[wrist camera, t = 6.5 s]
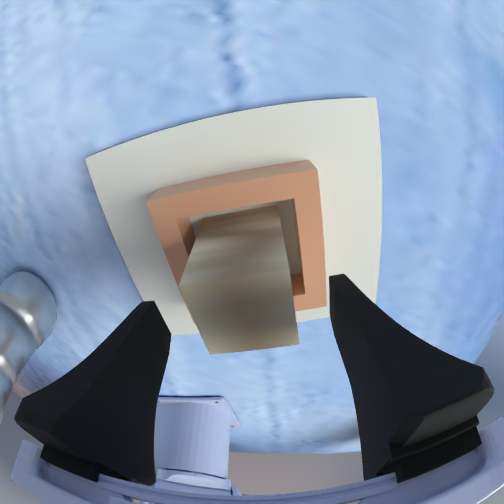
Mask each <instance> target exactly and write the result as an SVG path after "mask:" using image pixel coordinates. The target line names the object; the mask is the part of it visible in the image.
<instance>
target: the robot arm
mask: <svg viewBox="0 0 504 504" xmlns="http://www.w3.org/2000/svg"><path fill="white" fill-rule="evenodd" d="M329 303H330V318H331V323H332V327H333V332H334V336H335V339H336V342H337V345H338V348H339V351H340V354H341V357H342V360H343V363H344V366H345V369H346V372H347V375H348V378H349V381H350V385H351V388H352V393H353V398H354V403H355V409H356V415H357V421H358V427H359V435H360V443H361V451H362V462H363V476H364V481H361V482H357V483H353V484H348V485H343V486H338V487H333V488H327V489H321V490H315V491H307V492H299V493H289V494H276V495H241V492H240V491H239V490H238V489H237V487H236V486H231V480H227V478H228V459H229V440H230V428H238V427H240V423H239V421H238V420H237V418H236V416H235V415H234V413H233V411H232V410H231V408H230V406H229V404H228V403H227V401H226V399H225V398H223V397H208V398H175V397H158V396H159V392H160V388H161V384H162V380H163V376H164V372H165V368H166V364H167V360H168V356H169V350H170V341H171V332H170V330H169V328H168V326H167V325H166V323H165V321H164V319H163V317H162V315H161V313H160V311H159V309H158V307H157V305H156V303H155V301H144V302H141V303H140V304H139V305H138V306H137V307H136V308H135V309H134V310H133V311H132V312H131V313H130V314H129V315H128V316H127V317H126V318H125V319H124V321H123V322H122V323H121V324H120V325H119V326H118V327H117V328H116V329H115V330H114V331H113V332H112V333H111V334H110V335H109V336H108V337H107V338H106V339H105V340H104V341H103V342H102V343H101V344H100V345H99V346H98V347H97V348H96V349H95V350H94V351H93V352H92V353H91V354H90V355H89V356H88V357H87V358H85V359H84V360H83V361H82V362H81V363H80V364H78V365H77V366H76V367H74V368H73V369H72V370H70V371H69V372H68V373H66V374H65V375H64V376H62V377H61V378H59V379H58V380H56V381H55V382H53V383H51V384H50V385H48V386H46V387H44V388H43V389H41V390H39V391H37V392H35V393H32V394H30V395H28V396H26V397H24V398H23V399H22V401H21V403H20V406H19V408H18V410H17V412H16V415H15V417H14V419H15V421H16V423H17V424H18V425H20V427H21V428H23V429H24V430H25V431H26V432H28V433H29V434H30V435H32V436H33V437H35V438H36V439H37V440H39V441H40V442H42V443H43V444H44V446H43V449H42V448H40V447H38V446H36V445H34V444H32V443H30V442H28V441H26V440H23V442H22V444H21V447H20V450H19V453H18V456H17V459H16V462H15V465H14V469H13V472H12V475H11V480H12V481H13V482H14V483H16V484H17V485H18V486H20V487H21V488H23V489H24V490H25V491H27V492H28V493H29V494H31V495H32V496H33V497H35V498H36V499H38V500H39V501H40V502H42V503H43V504H136V503H134V502H133V500H132V499H136V500H139V504H347V503H352V502H356V501H360V500H361V501H360V502H359V503H358V504H478V503H480V502H481V501H483V500H484V499H486V498H487V497H488V496H490V495H491V494H493V493H494V492H496V491H497V490H498V489H500V488H501V487H502V486H504V416H503V417H501V418H500V419H498V420H497V421H495V422H493V423H492V424H490V425H488V426H487V427H485V428H484V429H483V430H481V431H480V432H478V430H477V428H476V426H477V425H478V424H479V420H478V417H477V414H478V413H479V412H480V411H481V409H482V408H483V407H484V406H485V405H486V404H487V403H488V402H489V400H490V399H491V398H492V396H493V393H494V388H493V386H492V384H491V382H490V380H489V377H488V376H487V374H486V372H485V371H484V369H483V368H482V367H480V366H477V365H475V364H472V363H469V362H467V361H464V360H461V359H459V358H456V357H454V356H452V355H450V354H448V353H446V352H443V351H441V350H440V349H438V348H436V347H434V346H432V345H430V344H429V343H427V342H425V341H423V340H422V339H420V338H418V337H417V336H415V335H414V334H412V333H411V332H409V331H408V330H406V329H405V328H404V327H402V326H401V325H400V324H398V323H397V322H396V321H394V320H393V319H392V318H391V317H389V316H388V315H387V314H386V313H385V312H383V311H382V310H381V309H380V308H379V307H378V306H377V305H376V304H375V303H374V302H372V301H371V300H370V299H369V298H368V297H367V296H366V295H365V294H364V293H363V292H362V291H361V290H360V289H359V288H358V287H357V286H356V285H355V284H354V283H353V282H352V281H351V280H350V279H349V278H348V277H347V276H346V275H345V274H338V275H332V276H329ZM155 473H157V474H155ZM124 480H125V481H124ZM128 481H129V482H128ZM132 482H133V483H132ZM141 484H142V485H141ZM131 498H132V499H131Z"/></svg>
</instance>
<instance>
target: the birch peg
mask: <svg viewBox="0 0 504 504" xmlns="http://www.w3.org/2000/svg"><path fill="white" fill-rule="evenodd" d="M179 288H180V290H181V292H182V295H183V297H184V299H185V302H186V304H187V306H188V308H189V311H190V313H191V315H192V317H193V320H194V322H195V324H196V326H197V328H198V330H199V333H200V335H201V337H202V339H203V341H204V343H205V345H206V347H207V349H208V352H209V354H219V353H231V352H241V351H251V350H259V349H268V348H275V347H283V346H290V345H296V344H299V339H298V330H297V322H296V314H295V307H294V299H293V291H292V284H291V277H290V270H289V264H288V259H287V253H286V248H285V242H284V237H283V232H282V227H281V222H280V216H279V211H278V206H277V205H271V206H265V207H260V208H254V209H248V210H242V211H237V212H231V213H226V214H221V215H215V216H210V217H205V218H204V219H203V222H202V224H201V227H200V229H199V232H198V235H197V237H196V240H195V243H194V245H193V248H192V251H191V253H190V256H189V259H188V261H187V264H186V267H185V270H184V272H183V275H182V278H181V281H180V284H179Z"/></svg>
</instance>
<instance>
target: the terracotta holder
mask: <svg viewBox="0 0 504 504" xmlns="http://www.w3.org/2000/svg"><path fill="white" fill-rule="evenodd" d="M288 199H291V201H292V208H293V215H294V223H295V230H296V238H297V247H298V255H299V264H300V273H299V274H293V275H290V277H291V284H292V291H293V299H294V307H295V311H302V310H308V309H314V308H320V307H326V306H327V295H326V268H325V250H324V234H323V221H322V209H321V198H320V188H319V178H318V169H317V168H316V167H315V166H314V165H313V164H312V162H311V161H310V160H304V161H297V162H290V163H283V164H277V165H270V166H264V167H258V168H253V169H247V170H241V171H236V172H231V173H226V174H221V175H216V176H211V177H206V178H202V179H197V180H193V181H188V182H184V183H180V184H176V185H171V186H167V187H163V188H159V189H158V190H157V191H156V192H155V193H154V194H153V195H152V196H151V197H150V198H149V199H148V201H147V202H146V203H147V206H148V209H149V212H150V215H151V218H152V221H153V223H154V226H155V229H156V232H157V234H158V237H159V240H160V243H161V245H162V248H163V250H164V253H165V256H166V258H167V261H168V263H169V266H170V268H171V271H172V273H173V276H174V278H175V281H176V283H177V285H178V288H179V284H180V281H181V278H182V275H183V272H184V270H185V267H186V264H187V261H188V259H189V256H190V253H191V251H192V248H193V245H194V243H195V240H196V238H195V235H194V232H193V228H192V225H191V222H190V219H189V217H192V216H197V215H202V214H207V213H212V212H218V211H223V210H228V209H234V208H240V207H245V206H251V205H257V204H263V203H269V202H275V201H281V200H288ZM179 290H180V288H179ZM180 293H181V295H182V292H181V290H180ZM182 297H183V295H182ZM183 300H184V302H185V299H184V297H183ZM185 304H186V302H185ZM186 307H187V309H188V311H189V308H188V306H187V304H186ZM189 313H190V311H189ZM190 316H191V318H192V320H193V317H192V315H191V313H190ZM193 322H194V320H193ZM194 324H195V322H194Z"/></svg>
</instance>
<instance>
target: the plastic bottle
mask: <svg viewBox="0 0 504 504" xmlns="http://www.w3.org/2000/svg"><path fill="white" fill-rule="evenodd" d="M56 319H57V305H56V301H55V299H54V296H53V294H52V293H51V291H50V290H49V288H48V287H47V286H46V284H45V283H44V282H43V281H42V280H41V279H40V278H38V277H37V276H36V275H34V274H32V273H30V272H25V271H22V272H15V273H13V274H12V275H10V276H9V277H7V278H6V279H5V280H3V281H2V283H1V284H0V424H1V420H2V416H3V413H4V409H5V405H6V402H7V400H8V398H9V395H10V393H11V390H12V386H13V385H14V384H15V381H16V379H17V377H18V375H19V373H20V372H21V370H22V369H23V367H24V366H25V364H26V363H27V361H28V360H29V359H30V357H31V356H32V354H33V353H34V352H35V350H36V349H37V348H39V347H40V346H41V345H42V344H43V342H44V341H45V340H46V339H47V337H48V336H49V335H50V334H51V332H52V330H53V327H54V325H55V322H56Z"/></svg>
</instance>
